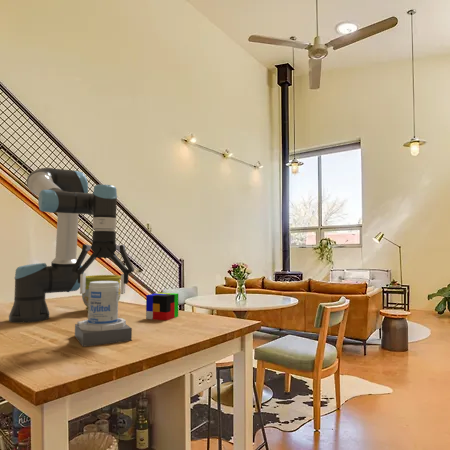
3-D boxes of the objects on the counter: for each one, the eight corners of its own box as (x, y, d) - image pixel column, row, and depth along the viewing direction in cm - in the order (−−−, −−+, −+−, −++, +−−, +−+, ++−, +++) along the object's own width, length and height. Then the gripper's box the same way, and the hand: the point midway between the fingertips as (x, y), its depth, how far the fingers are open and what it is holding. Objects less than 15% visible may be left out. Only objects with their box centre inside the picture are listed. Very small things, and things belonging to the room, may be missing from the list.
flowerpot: (128, 310, 180) (128, 276, 181) (94, 315, 167) (94, 278, 168) (107, 306, 192) (108, 274, 193) (74, 311, 179) (74, 276, 180)
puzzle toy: (146, 318, 159) (146, 295, 159) (158, 315, 168) (158, 292, 169) (166, 320, 155) (166, 296, 156) (178, 316, 164) (178, 293, 165)
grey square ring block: (74, 336, 128) (75, 319, 128) (118, 331, 135) (119, 315, 136) (82, 346, 114) (83, 328, 114) (131, 340, 121) (131, 323, 122)
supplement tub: (87, 330, 119) (88, 283, 120) (87, 324, 128) (88, 281, 129) (119, 327, 122) (119, 282, 123) (117, 322, 131) (117, 280, 132)
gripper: (62, 229, 123) (60, 294, 122) (138, 230, 123) (137, 295, 122) (72, 230, 130) (70, 291, 130) (143, 231, 130) (142, 292, 130)
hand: (102, 293), depth 126 cm, fingers open, 13 cm apart
